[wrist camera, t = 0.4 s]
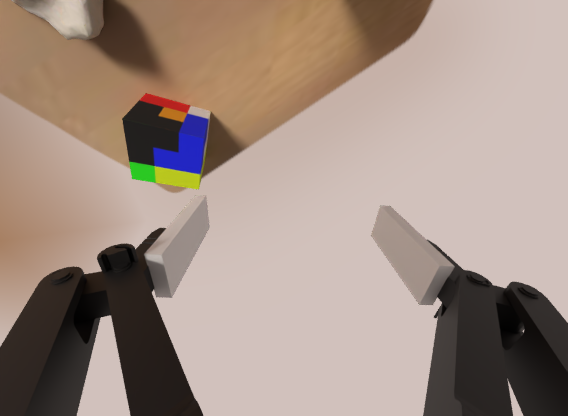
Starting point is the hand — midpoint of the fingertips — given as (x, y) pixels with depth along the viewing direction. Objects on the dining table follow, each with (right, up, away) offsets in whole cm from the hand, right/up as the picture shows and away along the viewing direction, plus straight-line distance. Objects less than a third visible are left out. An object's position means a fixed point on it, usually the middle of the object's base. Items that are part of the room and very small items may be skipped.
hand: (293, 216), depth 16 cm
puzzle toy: (-20, +15, +23) cm, 34 cm away
